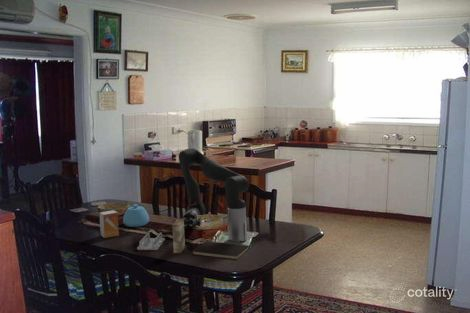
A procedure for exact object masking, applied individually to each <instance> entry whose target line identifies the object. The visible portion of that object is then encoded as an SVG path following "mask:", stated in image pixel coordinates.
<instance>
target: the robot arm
mask: <svg viewBox="0 0 470 313" xmlns="http://www.w3.org/2000/svg"><path fill="white" fill-rule="evenodd" d="M178 162H179V165H180V169H181V172H182V175H183V179H184V183H185V187H186V192H187V200H188V201H189V202H193V203H195V204H189V205H188V206H187V207H186V212H185V214H183V216H182V218H181V219H184V227H190V226H191V227H192V229H194V228H196V227H201V225H202V219H201V218H200V216H199V215H203V216H205V213H206V207H205V205H204V203H203V200H202V197H201V191H200V186H199V184H198V182H197V180H196V179H195V178H194V177H193V175H192V174H191V172H190V166H194V165H198V166H200V168H201V172H202V174H203V175H204V176H205V177H207V178H208V179H210V180H212V181H216V182H219V183H225V184H224V191H225V201H226V204H227V226H228V228H227V230H228V231H227V232H228V240H229V241H230V240H231V241H230V242H233V241H234V242H235V243H240V241H241V242H246V241H247V236H248V233H247V232H248V231H247V229H248V228H247V216H246V215H247V208H246V206H247V205H246V201H245V200H244V199H240V198H239V194H244V193H245V192H247V191H248V190H249V188H250V182H249V180H248V179H247V177H246V176H244V175H243V174H239V173H237V172H235V171H233V170H231V169H228V168H227V167H225V166H223V165H221V164H220V163H218V162H217V161H215V160H213V159H211V158H210V157H207V156H206V155H204V154H203V152H200V151H199V150H198V149H196V148H192V147H191V148H188V149H184V150H181V151H179V152H178ZM198 217H199V218H198ZM177 219H178V218H175V219H174V220H173V221H172V222H173V223H172V225H173V224H174V222H175V221H176V220H177ZM197 219H198V220H197ZM234 242H233V243H234Z"/></svg>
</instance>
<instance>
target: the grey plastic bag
mask: <svg viewBox="0 0 470 313" xmlns="http://www.w3.org/2000/svg"><path fill="white" fill-rule="evenodd" d="M165 240H166V239H165V237H163V233H162V232H159V233H158V234H157V236H156V237H151V232H146V234H145V235H144V236H143V237H142V238H141V239H140V240H139V244H138V246H137V247H136V249H137V250H138V251H157V250H158V249H159V248H160V247H161V246H162V245H163V243H164V242H165Z"/></svg>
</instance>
